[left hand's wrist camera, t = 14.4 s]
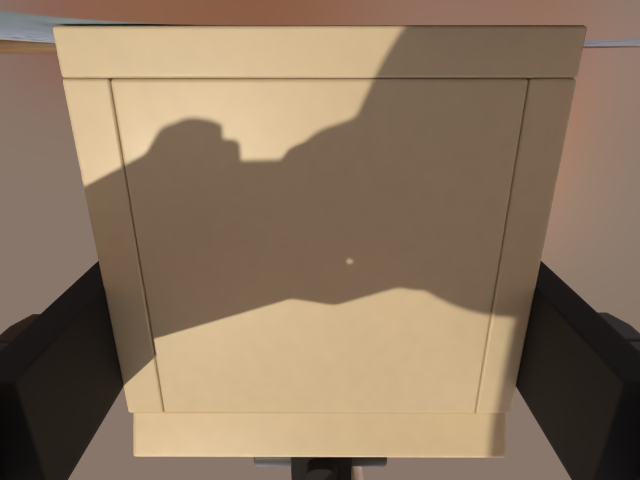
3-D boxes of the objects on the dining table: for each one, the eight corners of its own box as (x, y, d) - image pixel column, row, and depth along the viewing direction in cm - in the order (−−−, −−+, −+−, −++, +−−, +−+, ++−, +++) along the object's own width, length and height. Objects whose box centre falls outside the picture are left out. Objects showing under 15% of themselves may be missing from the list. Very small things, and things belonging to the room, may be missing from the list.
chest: (412, 47, 24) (401, 208, 27) (229, 47, 24) (240, 208, 27) (588, 25, 8) (511, 414, 11) (49, 25, 8) (128, 413, 11)
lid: (396, 308, 29) (395, 439, 29) (245, 308, 29) (245, 438, 29) (507, 410, 12) (507, 737, 12) (132, 409, 12) (131, 735, 12)
